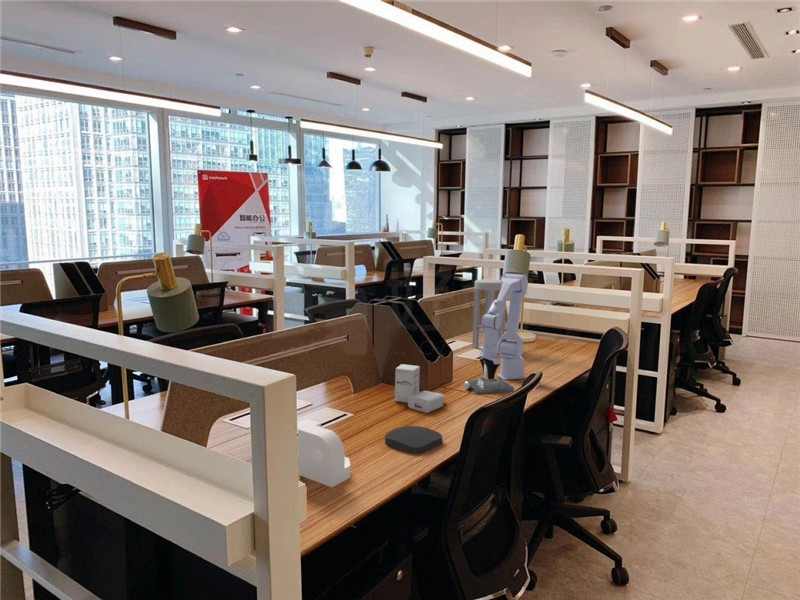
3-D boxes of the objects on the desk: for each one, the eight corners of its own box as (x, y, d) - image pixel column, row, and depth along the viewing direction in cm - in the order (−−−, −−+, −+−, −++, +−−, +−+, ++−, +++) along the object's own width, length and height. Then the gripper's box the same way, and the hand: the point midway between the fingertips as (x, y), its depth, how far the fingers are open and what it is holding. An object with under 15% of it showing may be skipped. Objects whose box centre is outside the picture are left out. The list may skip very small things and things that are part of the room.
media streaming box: (417, 457, 171) (417, 447, 170) (379, 443, 180) (379, 434, 180) (447, 442, 182) (447, 433, 181) (410, 430, 191) (410, 421, 191)
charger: (453, 403, 219) (428, 413, 207) (432, 398, 224) (407, 408, 213) (453, 391, 218) (428, 400, 207) (433, 386, 224) (408, 395, 212)
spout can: (490, 380, 240) (491, 359, 239) (494, 383, 237) (494, 361, 235) (480, 381, 239) (481, 359, 238) (484, 383, 236) (484, 361, 234)
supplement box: (394, 401, 219) (394, 368, 217) (401, 395, 226) (401, 363, 224) (413, 404, 217) (413, 370, 215) (419, 398, 224) (420, 365, 222)
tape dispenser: (287, 470, 160) (287, 425, 158) (315, 458, 168) (314, 415, 166) (331, 487, 151) (331, 440, 149) (358, 473, 159) (359, 428, 157)
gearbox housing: (500, 382, 247) (500, 373, 246) (513, 391, 234) (514, 382, 234) (459, 384, 242) (459, 376, 242) (471, 394, 230) (471, 385, 229)
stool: (485, 343, 319) (488, 278, 314) (509, 348, 308) (512, 281, 303) (466, 347, 309) (468, 280, 304) (490, 353, 298) (492, 283, 293)
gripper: (473, 340, 242) (472, 373, 244) (488, 348, 228) (486, 383, 230) (489, 339, 243) (488, 372, 245) (505, 347, 230) (503, 382, 232)
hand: (488, 377), depth 238 cm, fingers closed on spout can, 4 cm apart
